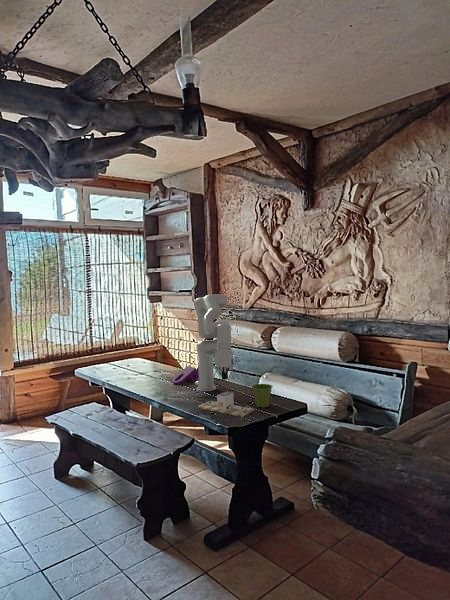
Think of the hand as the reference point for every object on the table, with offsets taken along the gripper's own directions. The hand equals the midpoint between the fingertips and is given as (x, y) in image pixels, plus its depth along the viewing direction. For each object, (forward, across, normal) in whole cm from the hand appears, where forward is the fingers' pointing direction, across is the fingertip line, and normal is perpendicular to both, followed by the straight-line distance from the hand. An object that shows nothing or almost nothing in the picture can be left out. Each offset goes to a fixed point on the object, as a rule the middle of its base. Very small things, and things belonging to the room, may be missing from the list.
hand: (224, 378), depth 251 cm
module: (+16, 0, 0) cm, 16 cm away
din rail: (+17, 0, 0) cm, 17 cm away
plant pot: (+17, +14, +16) cm, 27 cm away
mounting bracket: (+19, -59, +34) cm, 70 cm away
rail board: (+17, 0, 0) cm, 17 cm away
